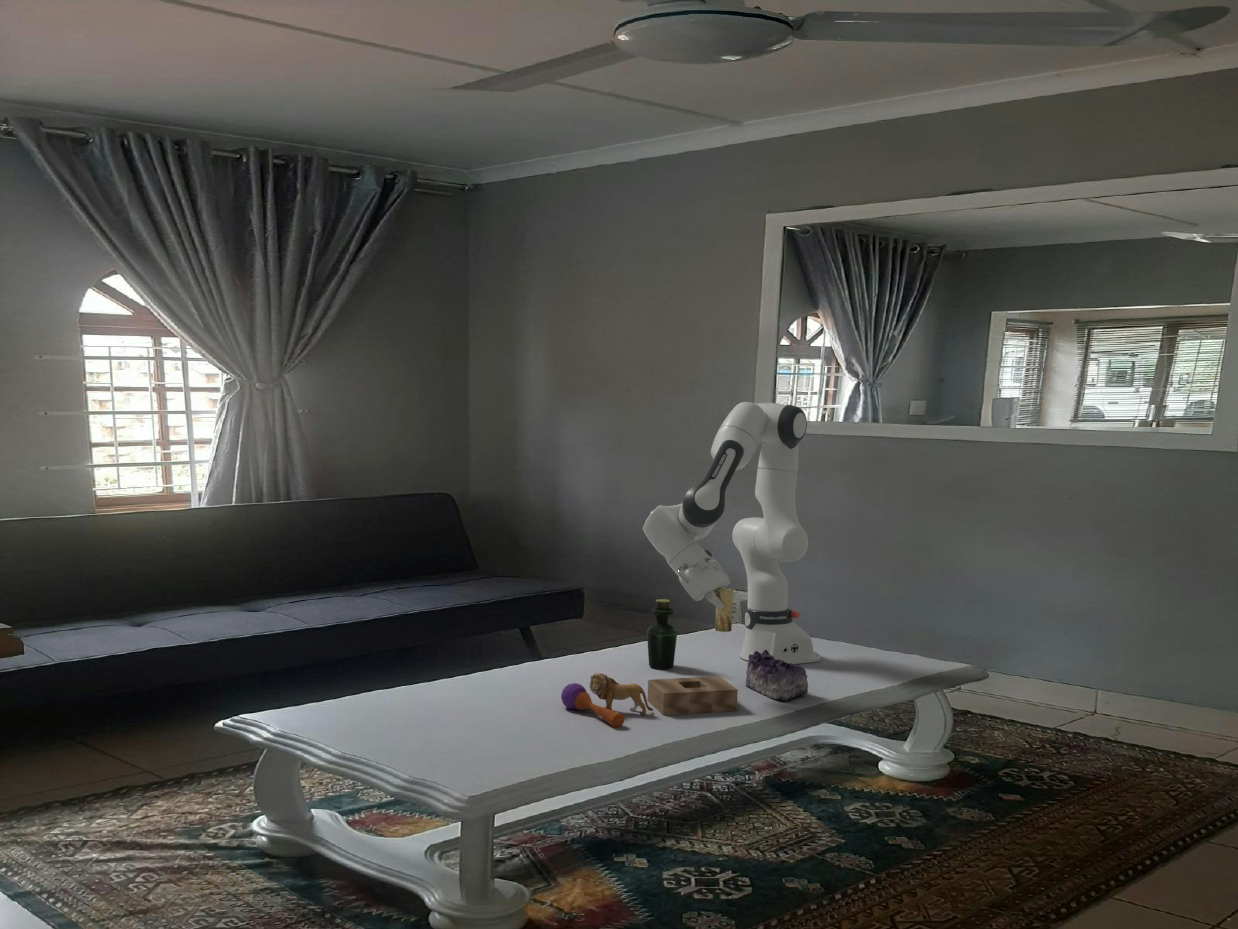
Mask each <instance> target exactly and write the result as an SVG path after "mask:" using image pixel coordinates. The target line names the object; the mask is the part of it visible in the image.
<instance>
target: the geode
mask: <svg viewBox="0 0 1238 929" xmlns="http://www.w3.org/2000/svg"><path fill="white" fill-rule="evenodd" d="M747 661H748V660H747ZM745 686H746V687H748V688H750V689H751V690H752V689H753V690H754V691H756V692H758V693H760V694H761V695H762V696H766V697H769V698H771V699H774V700H781V701H782V702H787V701H789V700H791V699H794V698H795V697H799V696H802V695H806V694H808V691H809V690H808V689H809V682H808V675H807V671H806V669H805V668H804V667H803V666H801V665H795V664H792V663H786V662H784V661H781V660H780V659H779V660H775V659H774V656H772V655H770V654H769V652H768V651H767V650H766V649H765V650H764V651H763V653H762V654H761V653H759V652H758V651H755V652H754V654H753V655H751V654H749V661H748V662H747V667H746V678H745Z"/></svg>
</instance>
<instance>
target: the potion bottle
mask: <svg viewBox="0 0 1238 929" xmlns="http://www.w3.org/2000/svg"><path fill="white" fill-rule="evenodd" d="M670 603H671V600H670V599H665V598H661V599H656V600H655V604H656V607H653V608H652V611H651V614H652V615H655V619H656V623H655V624H652V625H651V626H649V627H648V628H647V630H646V637H647V639H646V640H647V652H648V653H647V655H648V666H649V667H650V668H651V669H654V670H661V671H663V670H666V671H667V670H670V669H673V667H674V664H675V654H676V646H677V636H678V631H677V630H676V628H675V627H674V626H672V625H671V624H669V619H670V616H671V615H674V610H673V608H671V607H670Z"/></svg>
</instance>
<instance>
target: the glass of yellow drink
mask: <svg viewBox="0 0 1238 929" xmlns="http://www.w3.org/2000/svg"><path fill="white" fill-rule="evenodd" d="M733 593H734V589H733V588H729V587H725V588H718V589H717V590H716V593H715V594H716V596H717V597H718V598H719V599H720V600H722V601H723V602H724V603H725V604H726V606H725V607H724V608H723V609H722V610H718V609H717V607H716V606H715V621H714V623H715V624H714V627H715V628H714V631H716V632H722V633H725V632H726V633H727V632H732V630H733V627H732V626H733V625H732V623H733V604H734V602H733V601H734V599H733V597H734V594H733Z"/></svg>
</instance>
